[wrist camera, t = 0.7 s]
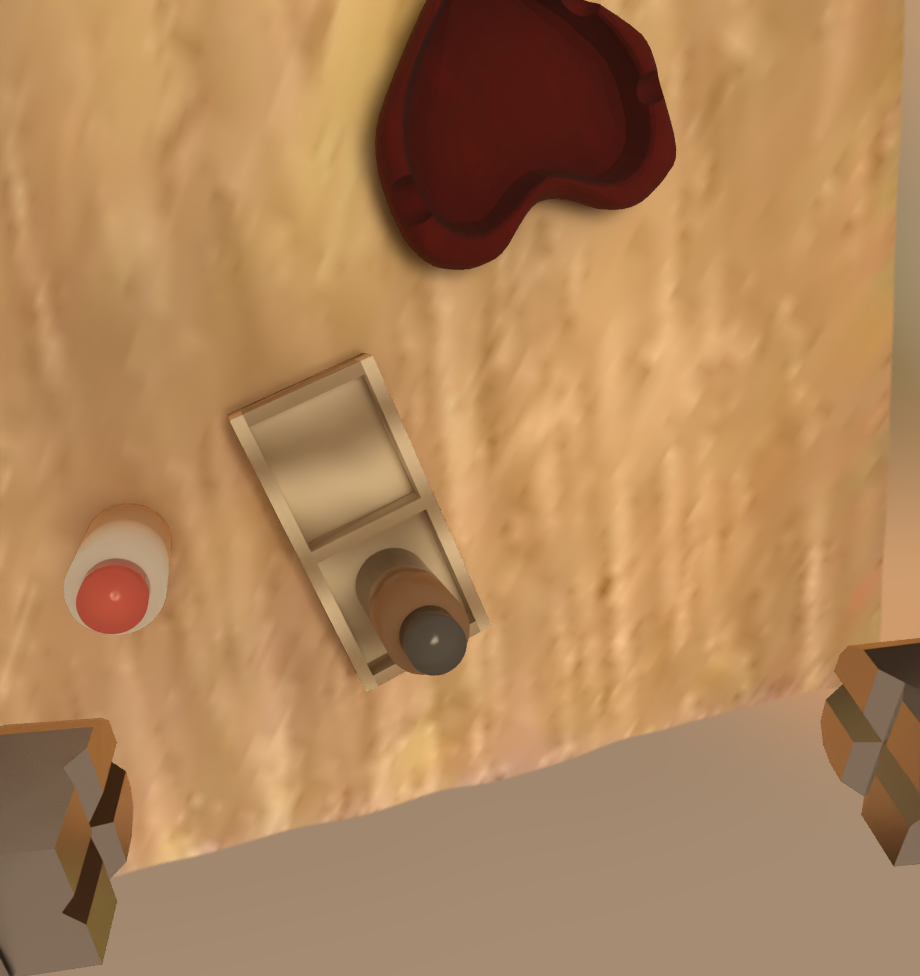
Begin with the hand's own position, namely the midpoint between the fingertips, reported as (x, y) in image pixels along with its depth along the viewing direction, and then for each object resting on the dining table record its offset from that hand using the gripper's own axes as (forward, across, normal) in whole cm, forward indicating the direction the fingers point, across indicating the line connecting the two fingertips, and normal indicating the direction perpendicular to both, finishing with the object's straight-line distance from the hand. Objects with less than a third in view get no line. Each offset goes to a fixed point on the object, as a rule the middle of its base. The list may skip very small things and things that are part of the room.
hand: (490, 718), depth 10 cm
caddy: (+39, +2, +23) cm, 46 cm away
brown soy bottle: (+37, 0, +27) cm, 46 cm away
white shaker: (+37, +16, +22) cm, 46 cm away
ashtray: (+50, -8, +1) cm, 50 cm away
